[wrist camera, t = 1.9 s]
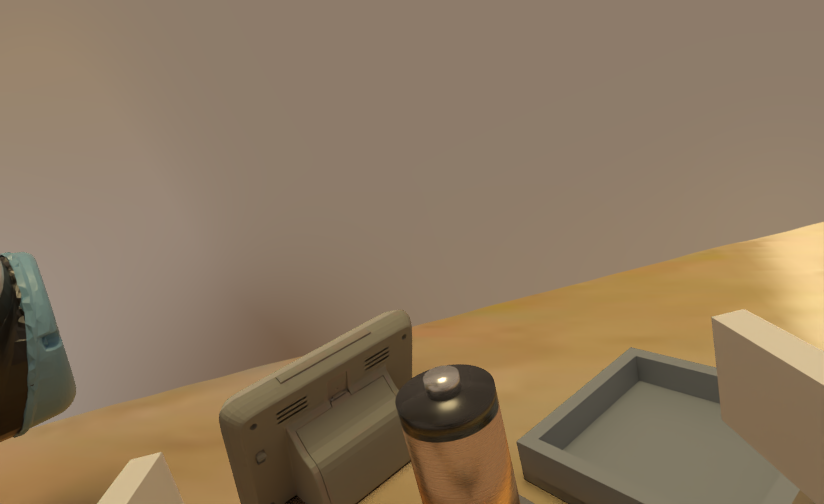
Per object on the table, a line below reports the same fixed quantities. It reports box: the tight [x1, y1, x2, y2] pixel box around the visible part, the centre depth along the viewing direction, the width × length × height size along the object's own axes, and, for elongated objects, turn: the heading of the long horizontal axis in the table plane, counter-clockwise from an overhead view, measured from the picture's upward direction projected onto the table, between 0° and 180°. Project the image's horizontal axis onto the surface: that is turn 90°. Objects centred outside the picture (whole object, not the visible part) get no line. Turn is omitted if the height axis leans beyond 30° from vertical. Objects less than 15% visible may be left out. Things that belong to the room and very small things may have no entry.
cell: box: [395, 365, 520, 504], centre depth 24 cm, size 4×4×13 cm
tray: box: [517, 348, 815, 504], centre depth 32 cm, size 14×14×3 cm
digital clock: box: [219, 310, 412, 504], centre depth 39 cm, size 16×9×11 cm, turn 120°
